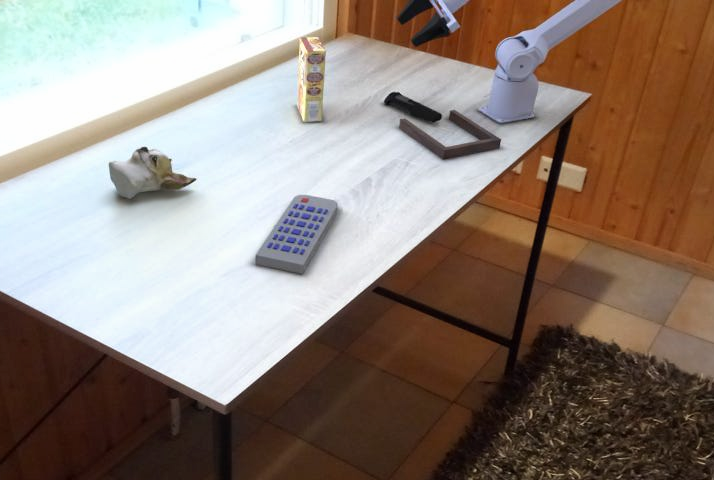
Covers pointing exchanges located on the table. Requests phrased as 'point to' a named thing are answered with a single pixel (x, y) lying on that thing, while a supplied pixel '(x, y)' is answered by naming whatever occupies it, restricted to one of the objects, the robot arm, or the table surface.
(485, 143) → the dock
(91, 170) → the table surface
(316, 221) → the remote control
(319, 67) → the candy box
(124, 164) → the ceramic sculpture
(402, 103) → the electric trimmer
